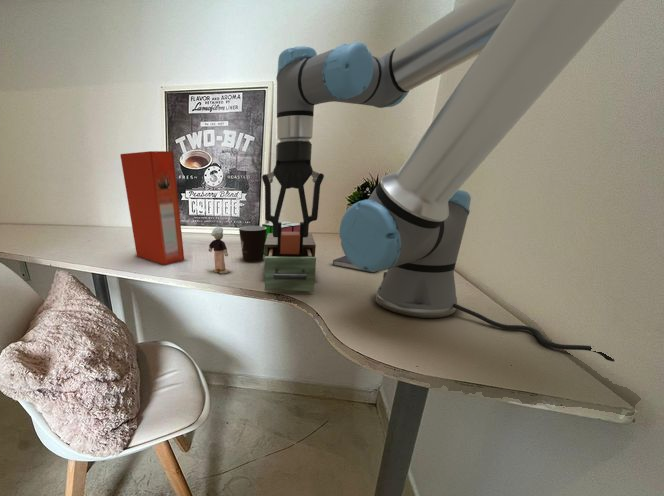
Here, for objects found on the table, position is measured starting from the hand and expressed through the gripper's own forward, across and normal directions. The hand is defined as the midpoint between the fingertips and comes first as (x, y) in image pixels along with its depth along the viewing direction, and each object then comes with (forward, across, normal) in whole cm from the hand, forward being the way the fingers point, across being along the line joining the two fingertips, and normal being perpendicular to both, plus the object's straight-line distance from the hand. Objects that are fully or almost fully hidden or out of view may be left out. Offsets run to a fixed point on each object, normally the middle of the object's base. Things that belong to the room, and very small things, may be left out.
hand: (289, 250), depth 80 cm
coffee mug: (+9, +11, -27) cm, 31 cm away
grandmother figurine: (+9, +20, -12) cm, 25 cm away
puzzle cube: (+9, +2, -33) cm, 35 cm away
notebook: (+9, -25, -24) cm, 36 cm away
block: (0, 0, 0) cm, 0 cm away
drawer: (+8, 0, +1) cm, 8 cm away
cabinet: (+9, 0, -12) cm, 15 cm away
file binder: (+9, +43, -26) cm, 51 cm away
